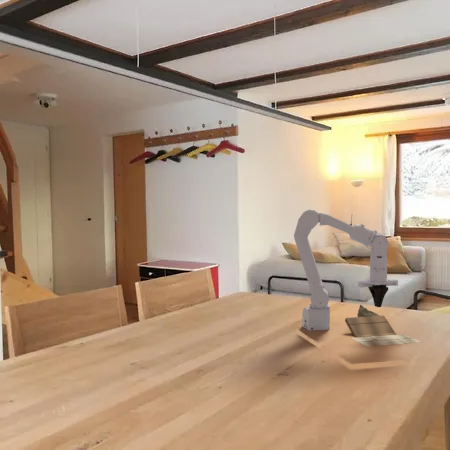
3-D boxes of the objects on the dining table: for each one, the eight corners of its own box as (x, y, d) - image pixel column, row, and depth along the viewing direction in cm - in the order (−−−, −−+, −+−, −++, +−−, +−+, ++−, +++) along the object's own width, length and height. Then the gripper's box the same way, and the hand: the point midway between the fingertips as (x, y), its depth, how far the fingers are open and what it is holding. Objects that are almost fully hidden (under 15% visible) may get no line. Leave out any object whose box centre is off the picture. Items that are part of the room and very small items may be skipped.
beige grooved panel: (366, 350, 155) (366, 346, 154) (350, 342, 164) (350, 337, 164) (421, 346, 159) (421, 341, 159) (403, 338, 169) (403, 333, 169)
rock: (375, 327, 179) (357, 305, 183) (364, 336, 182) (346, 314, 186) (387, 321, 188) (370, 300, 192) (375, 330, 191) (359, 309, 195)
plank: (355, 340, 166) (356, 337, 165) (344, 320, 173) (345, 317, 172) (394, 337, 170) (396, 334, 169) (382, 318, 177) (384, 315, 176)
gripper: (366, 270, 167) (365, 310, 168) (403, 269, 171) (402, 307, 171) (355, 267, 174) (354, 305, 175) (391, 266, 178) (391, 303, 178)
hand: (377, 306), depth 173 cm, fingers closed
